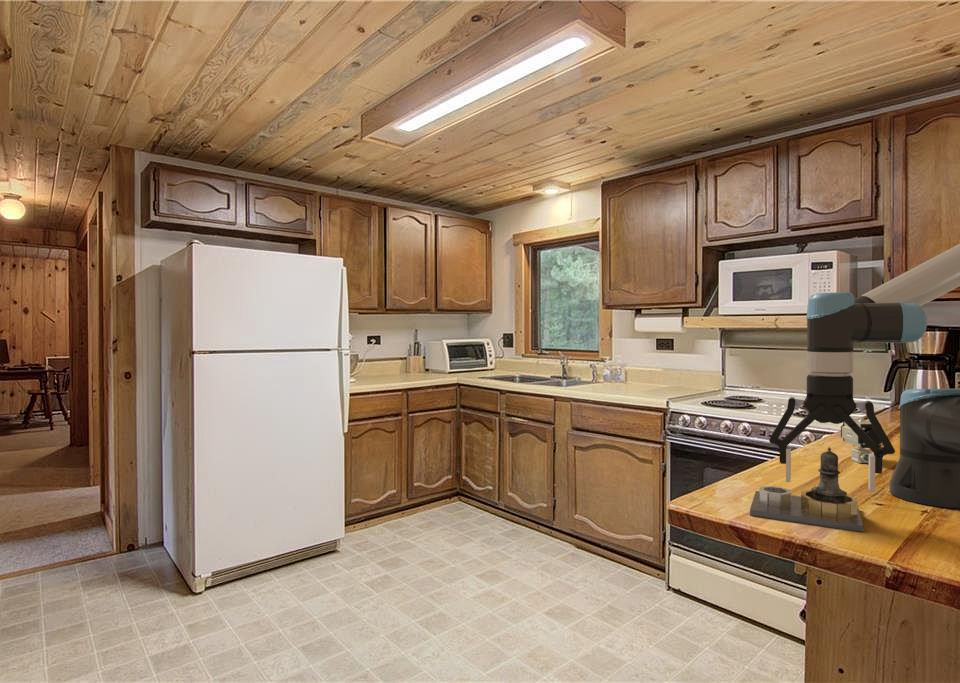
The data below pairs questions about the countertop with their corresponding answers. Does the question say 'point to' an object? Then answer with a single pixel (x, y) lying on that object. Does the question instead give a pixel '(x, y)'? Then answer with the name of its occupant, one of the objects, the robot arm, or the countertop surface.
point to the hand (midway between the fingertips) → (828, 485)
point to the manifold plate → (803, 515)
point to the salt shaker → (829, 480)
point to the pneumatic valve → (852, 438)
